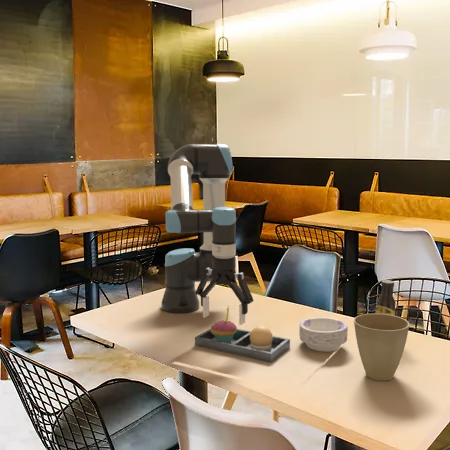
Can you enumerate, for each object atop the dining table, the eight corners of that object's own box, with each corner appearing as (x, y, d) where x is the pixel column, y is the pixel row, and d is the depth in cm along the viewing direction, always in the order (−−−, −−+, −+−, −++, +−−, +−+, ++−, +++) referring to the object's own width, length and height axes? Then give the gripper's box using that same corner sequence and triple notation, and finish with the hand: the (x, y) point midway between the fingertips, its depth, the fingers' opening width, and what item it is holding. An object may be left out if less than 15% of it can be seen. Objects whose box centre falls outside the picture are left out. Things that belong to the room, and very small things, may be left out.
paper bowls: (296, 338, 181) (297, 316, 180) (342, 339, 181) (343, 316, 180) (301, 356, 166) (302, 332, 165) (351, 357, 166) (352, 332, 165)
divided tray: (194, 347, 173) (194, 337, 173) (217, 334, 185) (217, 324, 185) (271, 365, 160) (271, 353, 159) (289, 349, 172) (290, 339, 171)
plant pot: (403, 367, 159) (406, 314, 156) (409, 389, 144) (412, 332, 142) (351, 362, 162) (353, 311, 159) (351, 383, 148) (354, 328, 145)
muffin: (245, 352, 168) (245, 328, 167) (256, 344, 174) (256, 321, 173) (266, 356, 164) (266, 332, 163) (276, 348, 170) (276, 325, 169)
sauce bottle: (370, 338, 182) (372, 281, 179) (379, 333, 186) (381, 277, 183) (388, 343, 177) (391, 284, 174) (397, 338, 182) (400, 281, 179)
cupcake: (224, 335, 182) (224, 301, 180) (242, 342, 176) (242, 307, 174) (205, 342, 176) (205, 306, 174) (223, 349, 170) (223, 312, 168)
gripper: (184, 253, 174) (185, 316, 178) (253, 263, 162) (252, 330, 166) (197, 249, 181) (197, 309, 184) (264, 258, 168) (263, 322, 172)
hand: (223, 319), depth 175 cm, fingers open, 13 cm apart
